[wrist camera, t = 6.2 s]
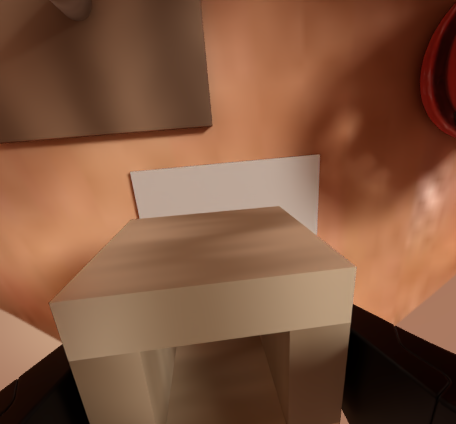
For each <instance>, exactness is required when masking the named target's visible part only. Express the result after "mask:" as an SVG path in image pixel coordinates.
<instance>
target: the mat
mask: <svg viewBox="0 0 456 424" xmlns="http://www.w3.org/2000/svg"><path fill="white" fill-rule="evenodd" d="M319 169H320V154H316V155H305V156H294V157H283V158H273V159H262V160H251V161H240V162H229V163H219V164H208V165H197V166H186V167H175V168H165V169H154V170H143V171H132V172H130V175H131V180H132V184H133V189H134V194H135V199H136V203H137V208H138V213H139V218H140V219H142V218H153V217H164V216H175V215H186V214H197V213H208V212H219V211H230V210H241V209H252V208H263V207H274V206H280V207H281V208H282V209H284V210H285V211H286V212H287V213H289V214H290V215H291V216H293V217H294V218H295V219H296V220H298V221H299V222H300V223H301V224H303V225H304V226H305V227H307V228H308V229H309V230H310V231H312V232H313V233H314V234H316V235H317V222H318V196H319Z"/></svg>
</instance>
